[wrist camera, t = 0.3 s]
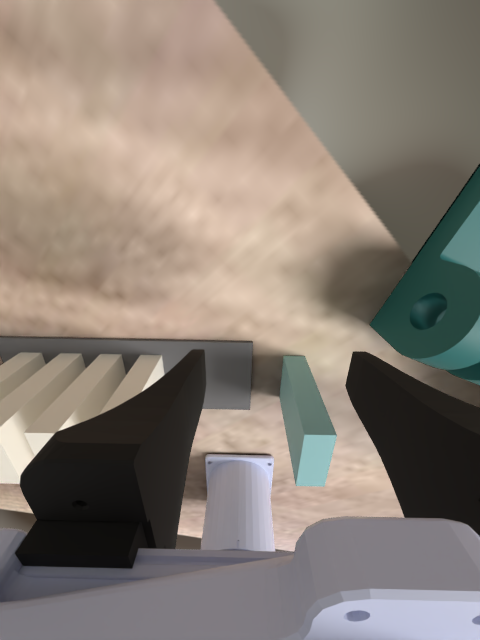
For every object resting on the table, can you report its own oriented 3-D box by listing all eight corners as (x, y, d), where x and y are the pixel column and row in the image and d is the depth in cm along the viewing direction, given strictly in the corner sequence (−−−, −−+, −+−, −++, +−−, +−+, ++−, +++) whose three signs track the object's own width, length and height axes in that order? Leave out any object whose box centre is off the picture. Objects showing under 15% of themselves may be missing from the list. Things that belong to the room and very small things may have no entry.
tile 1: (298, 397, 26) (324, 486, 18) (279, 396, 26) (295, 485, 18) (304, 356, 24) (336, 435, 15) (283, 355, 24) (304, 434, 15)
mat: (249, 407, 26) (250, 409, 26) (24, 402, 27) (22, 404, 26) (252, 341, 23) (252, 343, 23) (-5, 336, 23) (-8, 337, 23)
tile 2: (167, 396, 26) (131, 486, 17) (147, 396, 26) (102, 485, 17) (161, 355, 23) (117, 435, 15) (140, 354, 24) (85, 434, 15)
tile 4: (93, 395, 26) (22, 483, 17) (74, 394, 26) (-6, 483, 17) (81, 353, 24) (-6, 432, 15) (60, 353, 24) (-38, 431, 15)
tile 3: (130, 395, 26) (76, 485, 17) (111, 395, 26) (48, 484, 17) (121, 354, 24) (56, 433, 15) (100, 353, 24) (23, 432, 15)
